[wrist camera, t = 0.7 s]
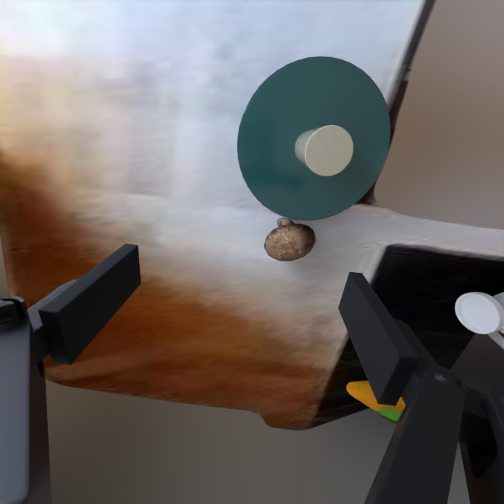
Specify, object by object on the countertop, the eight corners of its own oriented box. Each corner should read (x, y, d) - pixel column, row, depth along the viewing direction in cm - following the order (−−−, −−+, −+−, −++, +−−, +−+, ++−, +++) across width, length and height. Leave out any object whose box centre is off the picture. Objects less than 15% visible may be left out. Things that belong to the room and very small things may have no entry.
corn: (434, 446, 51) (342, 419, 49) (412, 410, 58) (332, 386, 57) (456, 421, 49) (361, 392, 47) (431, 387, 56) (348, 361, 54)
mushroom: (270, 205, 38) (281, 239, 35) (316, 208, 41) (330, 240, 38) (254, 237, 44) (262, 268, 41) (294, 238, 47) (305, 267, 44)
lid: (219, 88, 29) (197, 63, 19) (381, 35, 26) (444, -22, 17) (257, 230, 35) (254, 263, 26) (390, 200, 33) (438, 224, 23)
